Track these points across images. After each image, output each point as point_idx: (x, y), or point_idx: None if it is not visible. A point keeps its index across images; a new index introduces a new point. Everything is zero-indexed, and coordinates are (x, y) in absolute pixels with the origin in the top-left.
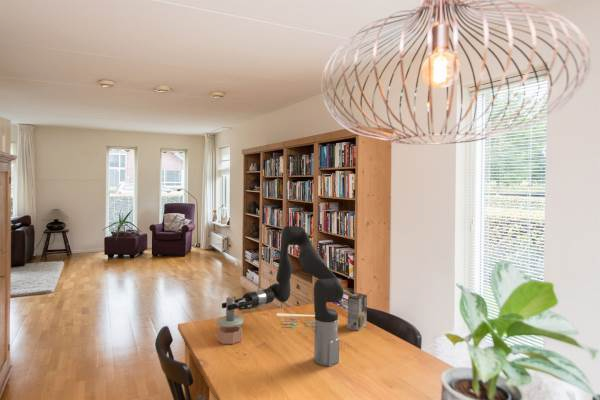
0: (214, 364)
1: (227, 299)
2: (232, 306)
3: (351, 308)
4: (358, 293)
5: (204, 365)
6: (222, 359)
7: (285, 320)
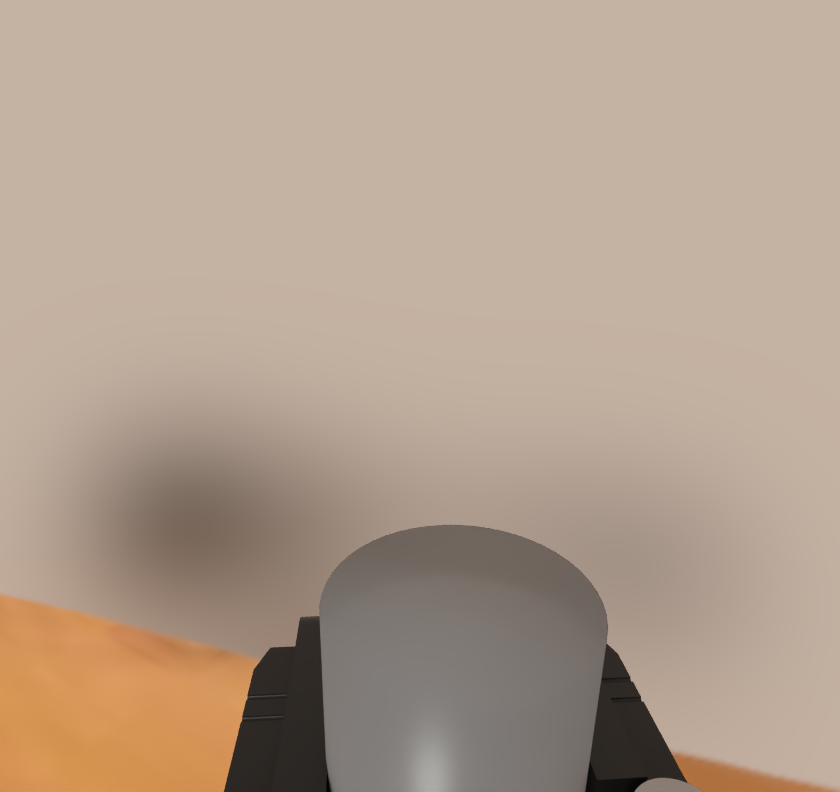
0: (82, 677)
1: (427, 533)
2: (245, 708)
3: None
4: None
5: (144, 631)
6: (68, 761)
7: None
